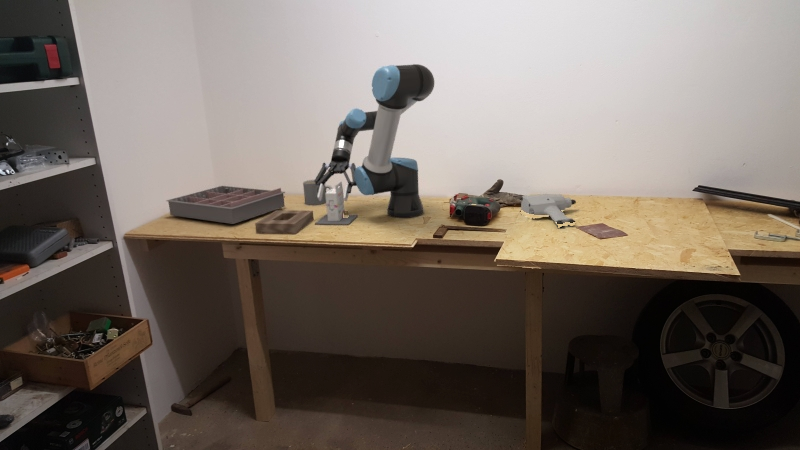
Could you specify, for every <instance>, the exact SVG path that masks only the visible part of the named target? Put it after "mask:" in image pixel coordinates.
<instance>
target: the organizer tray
mask: <svg viewBox="0 0 800 450" xmlns="http://www.w3.org/2000/svg"><path fill="white" fill-rule="evenodd" d="M285 193H286V191H282V187H278V188H275V189H272V190H268V189H258V188H249V187H238V186H229V185H228V186H226V185H219V186H216V187H212V188H209V189H205V190H201V191H197V192H193V193H189V194H186V195H182V196H178V197H175V198H170V199H167V200H165V202H168V206H169V209H168V210H169V213H170V216H175V217H181V218H188V219H196V220H203V221H209V222H217V223H225V224H231V225H234V224H235V225H236V224H238V223H240V222H244V221H246V220H250V219H252V218H253V219H254V218H255V217H258V216H261V215H264V214H268V213H271V212H272V211H273V212H274V211H276V210H279V209H281V208H285V196H284V194H285Z"/></svg>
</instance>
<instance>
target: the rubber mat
mask: <svg viewBox="0 0 800 450" xmlns="http://www.w3.org/2000/svg"><path fill="white" fill-rule="evenodd" d="M348 215H349V217H348V218H342V219H341V220H340V221H328V216H327V213H326V214H325V215H324V216H322V217H321V218H319V220H317V221H316V222H314V225H315V226H349V225H351V224H352V223H353V222H354V221H355V220H356V219H357V218H358V217H359V214H348Z"/></svg>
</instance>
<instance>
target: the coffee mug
mask: <svg viewBox="0 0 800 450" xmlns="http://www.w3.org/2000/svg"><path fill="white" fill-rule="evenodd" d="M314 180H315V179H308V180H304V181H303V183H302V185H303V197H304V204H305V205H306V206H321V205H325V204H326V195H325V193H327V192H328V191H327V189H328V190H331V189H333V187H332V185H329V184H326V183H325V184H324V185H323V186H324V190H323V194H322V199H321V201H319V200H318V198H317V196H318V192H317V187H318V185H316V184H315V182H314Z"/></svg>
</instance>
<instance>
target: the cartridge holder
mask: <svg viewBox="0 0 800 450" xmlns="http://www.w3.org/2000/svg"><path fill="white" fill-rule="evenodd" d="M313 221H314V210H303V209H302V210H299V209H296V210H293V209H292V210H287V209H286V210H284V209H281V210H279V209H276V210H273V212H272V213H271V212H270V213H269V214H268V215H266V216H265V217H263V218H262V219H260V220H258V221H257V222H255V223H254V226H255V233H256V234H261V235H262V234H264V235H265V234H266V235H268V234H270V235H275V234H276V235H277V234H278V235H296V234H298V233H299V232H301V230H303V229H304V228H306V227H307V226H308V225H309V224H310V223H312V222H313Z"/></svg>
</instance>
